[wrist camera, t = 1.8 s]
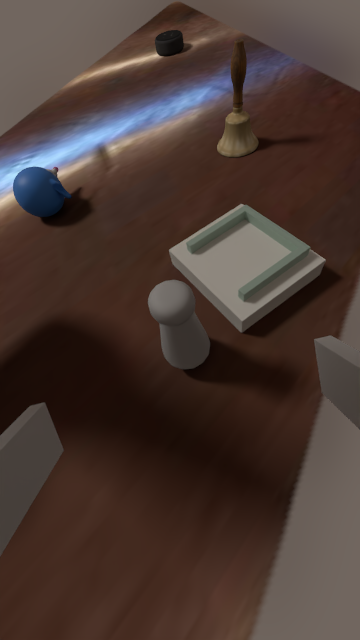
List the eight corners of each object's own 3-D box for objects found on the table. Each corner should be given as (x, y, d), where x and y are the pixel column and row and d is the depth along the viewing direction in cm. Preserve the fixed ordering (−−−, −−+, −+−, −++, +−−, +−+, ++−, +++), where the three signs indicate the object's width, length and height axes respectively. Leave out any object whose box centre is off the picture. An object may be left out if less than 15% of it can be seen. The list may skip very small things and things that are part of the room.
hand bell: (214, 140, 60) (208, 39, 46) (253, 131, 59) (258, 26, 46) (220, 161, 56) (216, 57, 42) (262, 152, 55) (272, 43, 41)
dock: (172, 263, 44) (166, 242, 40) (241, 219, 46) (241, 195, 43) (241, 332, 36) (242, 314, 32) (319, 274, 38) (329, 251, 35)
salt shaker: (180, 384, 34) (153, 335, 23) (158, 348, 37) (126, 289, 26) (220, 359, 35) (214, 300, 24) (196, 326, 38) (181, 259, 26)
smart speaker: (172, 44, 94) (169, 27, 91) (189, 47, 90) (187, 30, 86) (151, 55, 92) (148, 38, 89) (168, 59, 88) (166, 42, 84)
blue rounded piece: (92, 186, 59) (72, 145, 51) (69, 226, 53) (43, 186, 46) (43, 187, 62) (19, 148, 54) (17, 225, 56) (-14, 187, 49)
